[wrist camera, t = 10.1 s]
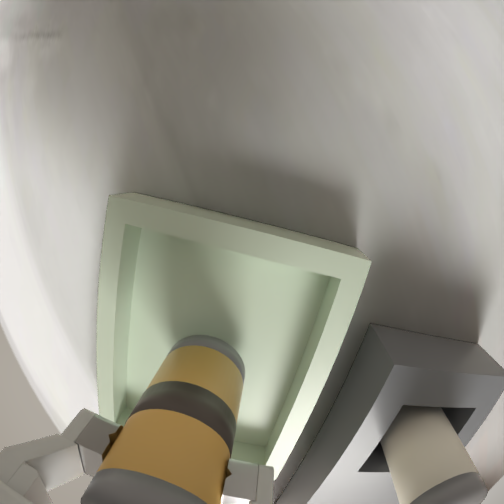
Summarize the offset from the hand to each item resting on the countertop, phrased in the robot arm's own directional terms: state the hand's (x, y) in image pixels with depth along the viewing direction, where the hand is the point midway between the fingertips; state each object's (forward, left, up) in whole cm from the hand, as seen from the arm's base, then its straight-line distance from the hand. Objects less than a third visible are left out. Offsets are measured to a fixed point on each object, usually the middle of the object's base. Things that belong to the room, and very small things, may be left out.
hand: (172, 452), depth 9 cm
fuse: (+1, +11, -8) cm, 14 cm away
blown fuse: (0, 0, -6) cm, 6 cm away
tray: (0, 0, -8) cm, 8 cm away
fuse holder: (+5, +11, -8) cm, 15 cm away
